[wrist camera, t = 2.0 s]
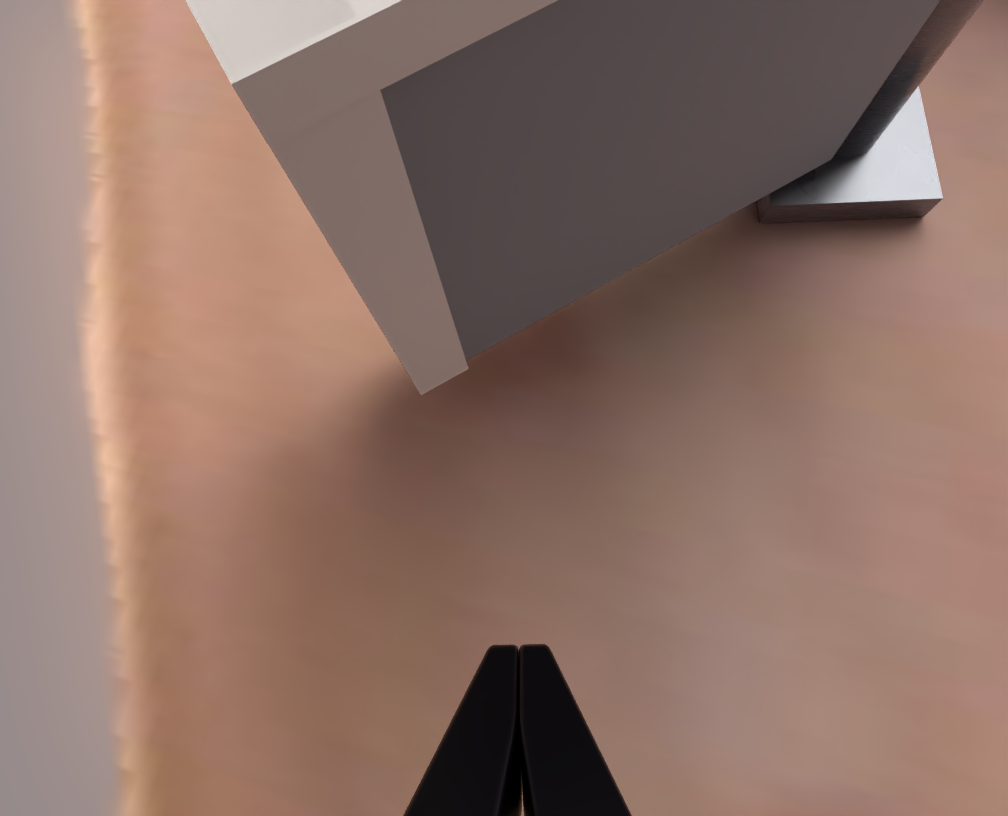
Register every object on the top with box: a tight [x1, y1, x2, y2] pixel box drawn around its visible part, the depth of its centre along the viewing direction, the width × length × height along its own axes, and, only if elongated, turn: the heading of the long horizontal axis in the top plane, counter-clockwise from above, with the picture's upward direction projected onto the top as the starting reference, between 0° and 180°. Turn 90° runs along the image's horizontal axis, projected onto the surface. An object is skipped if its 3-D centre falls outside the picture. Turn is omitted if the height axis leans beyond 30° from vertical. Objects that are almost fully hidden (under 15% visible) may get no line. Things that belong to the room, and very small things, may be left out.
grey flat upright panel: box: [186, 0, 940, 395], centre depth 16 cm, size 17×3×14 cm, turn 120°
